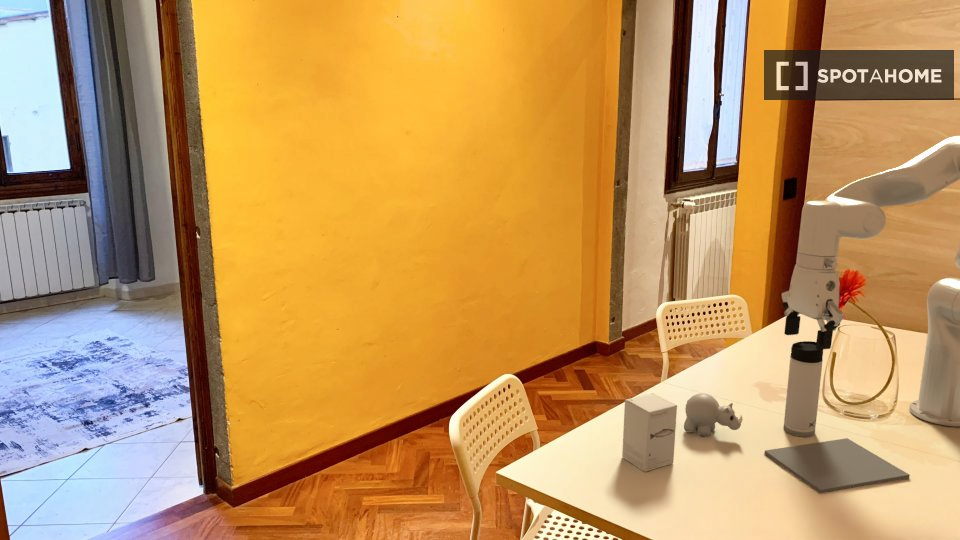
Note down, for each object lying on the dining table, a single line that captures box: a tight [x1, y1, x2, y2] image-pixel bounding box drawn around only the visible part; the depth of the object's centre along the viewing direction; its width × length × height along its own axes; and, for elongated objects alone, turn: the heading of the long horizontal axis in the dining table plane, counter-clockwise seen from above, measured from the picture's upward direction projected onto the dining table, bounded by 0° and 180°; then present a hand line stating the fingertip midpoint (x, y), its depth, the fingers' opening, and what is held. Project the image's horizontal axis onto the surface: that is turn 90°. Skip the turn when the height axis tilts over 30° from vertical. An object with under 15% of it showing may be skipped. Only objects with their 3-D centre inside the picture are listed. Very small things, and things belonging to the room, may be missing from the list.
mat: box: [763, 437, 910, 494], centre depth 144 cm, size 20×16×1 cm
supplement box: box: [621, 393, 678, 473], centre depth 145 cm, size 7×7×13 cm
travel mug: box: [783, 340, 824, 438], centre depth 157 cm, size 6×7×20 cm
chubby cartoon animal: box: [683, 393, 743, 437], centre depth 157 cm, size 7×12×8 cm, turn 54°
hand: (806, 341), depth 154 cm, fingers open, 9 cm apart
